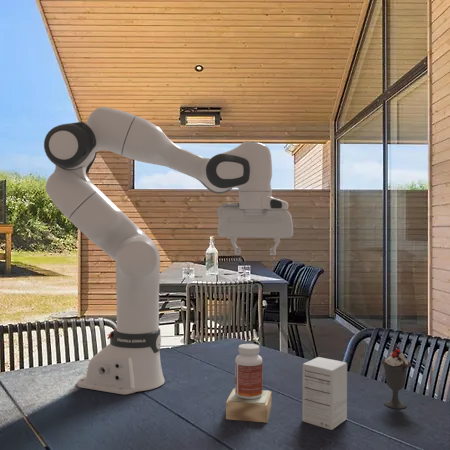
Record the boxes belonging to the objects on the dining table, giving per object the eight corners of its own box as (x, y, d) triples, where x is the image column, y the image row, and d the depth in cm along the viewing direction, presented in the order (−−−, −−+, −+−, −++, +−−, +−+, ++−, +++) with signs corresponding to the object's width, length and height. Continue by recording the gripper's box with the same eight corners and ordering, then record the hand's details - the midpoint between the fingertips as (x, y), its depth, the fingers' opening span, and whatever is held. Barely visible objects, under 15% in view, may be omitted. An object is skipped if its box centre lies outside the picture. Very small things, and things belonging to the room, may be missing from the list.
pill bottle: (268, 396, 111) (268, 347, 111) (245, 402, 107) (246, 351, 107) (251, 388, 116) (251, 341, 116) (229, 393, 112) (230, 344, 112)
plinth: (225, 419, 108) (226, 400, 108) (233, 404, 117) (233, 387, 117) (267, 422, 106) (267, 404, 106) (271, 407, 115) (271, 390, 115)
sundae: (391, 411, 113) (392, 346, 113) (375, 401, 119) (375, 339, 119) (416, 409, 115) (417, 344, 114) (398, 399, 121) (399, 337, 121)
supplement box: (317, 411, 113) (318, 356, 113) (347, 420, 108) (348, 362, 108) (300, 421, 107) (301, 363, 107) (332, 430, 102) (332, 369, 102)
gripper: (214, 202, 132) (214, 254, 132) (292, 202, 128) (292, 256, 128) (219, 203, 138) (219, 253, 138) (293, 203, 134) (293, 254, 134)
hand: (255, 254), depth 133 cm, fingers open, 8 cm apart
